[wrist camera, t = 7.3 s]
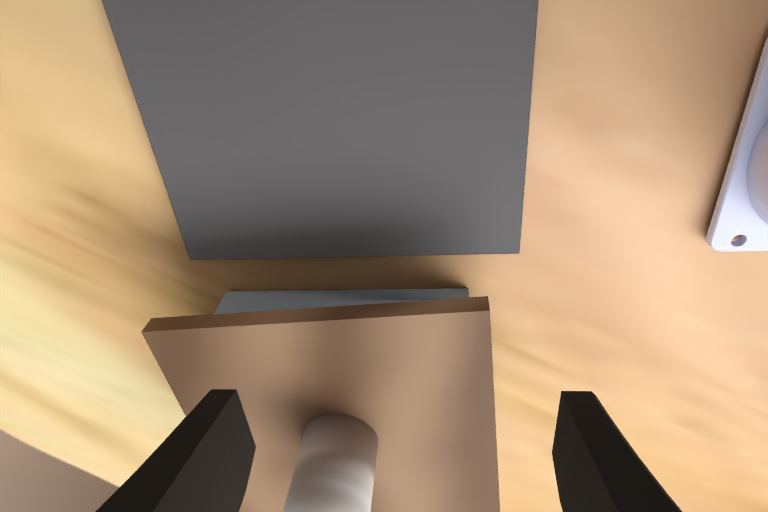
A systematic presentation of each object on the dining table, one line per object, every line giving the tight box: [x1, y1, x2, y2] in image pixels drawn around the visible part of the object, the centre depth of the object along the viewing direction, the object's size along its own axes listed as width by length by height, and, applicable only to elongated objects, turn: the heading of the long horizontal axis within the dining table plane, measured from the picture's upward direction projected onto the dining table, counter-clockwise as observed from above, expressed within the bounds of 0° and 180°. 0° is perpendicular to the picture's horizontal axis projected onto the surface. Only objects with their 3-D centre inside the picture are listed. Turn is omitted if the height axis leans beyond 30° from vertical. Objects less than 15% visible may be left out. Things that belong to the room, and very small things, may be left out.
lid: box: [142, 296, 500, 512], centre depth 20 cm, size 13×13×4 cm
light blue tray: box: [214, 288, 469, 314], centre depth 24 cm, size 11×11×4 cm
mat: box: [102, 0, 538, 260], centre depth 18 cm, size 14×14×1 cm
